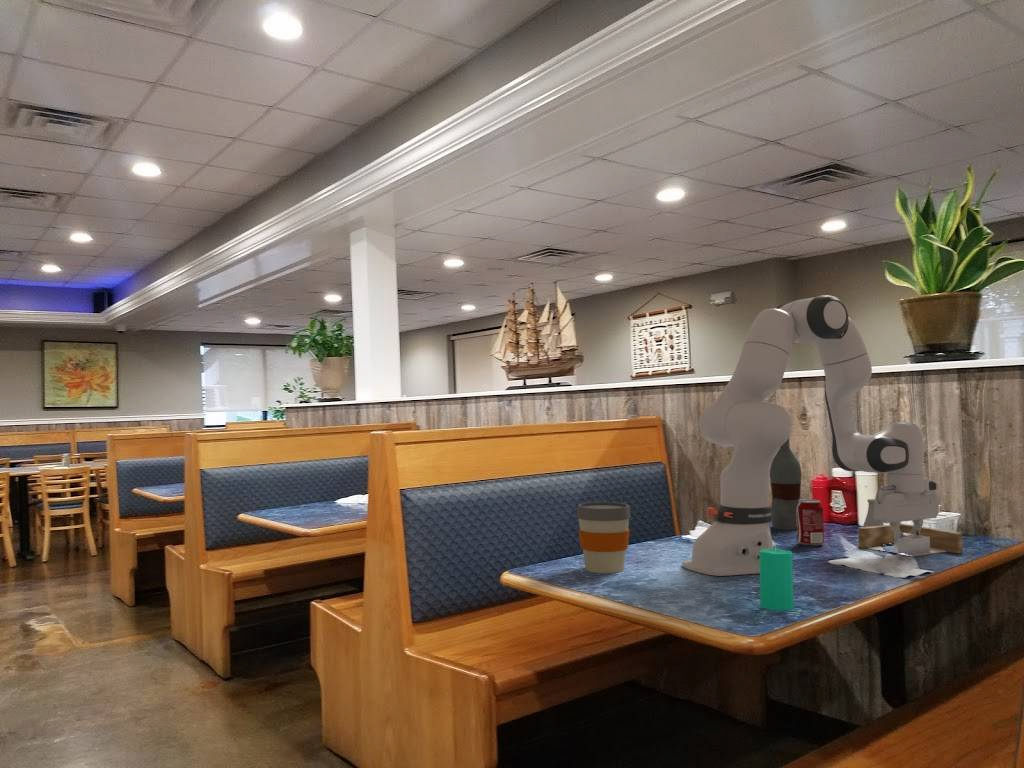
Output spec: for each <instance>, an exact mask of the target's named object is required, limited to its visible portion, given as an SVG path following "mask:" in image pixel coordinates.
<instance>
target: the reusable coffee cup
mask: <svg viewBox="0 0 1024 768" xmlns="http://www.w3.org/2000/svg"><path fill="white" fill-rule="evenodd" d="M576 518H577V519H578V524H579V527H578V536H579V545H580V549H582V554H583V560H584V569H585V571H586V572H587V571H588V573H589V572H590V573H593V574H594V573H595V574H596V573H597V574H616V573H621V572H622V571H624V567H625V560H626V559H625V558H626V550H627V549H628V547H629V539H630V538H629V537H630V529H629V521H630V518H631V512H630V505H629V504H627V503H625V502H624V503H623V502H616V501H613V502H611V501H592V502H584V503H579V504H577V512H576Z"/></svg>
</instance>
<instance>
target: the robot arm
mask: <svg viewBox="0 0 1024 768" xmlns="http://www.w3.org/2000/svg"><path fill="white" fill-rule="evenodd" d="M810 343H813V344H815V346H816V348H817V350H818V353H819V358H820V361H821V364H822V368H823V372H824V376H825V385H824V399H825V404H826V410H827V415H828V419H829V425H830V429H831V435H832V448H831V450H832V458H833V460H834V462H835V463H836V465H837V466H838V467H839V468H840V469H842V470H843V471H846V472H863V473H864V472H865V473H877V474H884V473H885V474H886V478H885V479H886V485H882V486H880V487H879V488H878V489H877V491H876V492H875V493H876V494H875V498H874V499H875V502H874V519H875V520H876V522H881V523H884V524H889V525H890V527H891V529H892V530H893V534H894V538H895V539H897V538H900V537H903V532H901V530H900V528H899V526H901V524H902V522H909V521H910V522H911V521H912V523H913V524H912V525H913V528H912V530H910V533H911V534H915V535H920V530H921V528H922V527H923V525H924V520H930V519H936V518H938V515H939V512H940V510H939V509H940V503H939V502H940V501H939V493H938V492H937V491H938V490H939V483H938V482H937V481H935V480H932V479H929V478H928V477H925V473H926V472H925V469H924V464H923V463H924V458H925V447H924V446H925V445H924V437H923V433H922V430H921V427H920V426H918V425H917V424H914V423H911V422H907V421H905V422H904V421H889V422H888V423H887V426H885V427H884V428H883V429H881V430H880V431H877V432H875V433H873V434H862V433H860V432H859V430H858V429H857V425H856V421H855V415H854V411H853V406H852V400H853V397H854V396H855V394H856V393H857V392H860V390H862V389H863V388H864V387H865V386H866V385H867V384H868V383H869V382H870V379H871V377H872V375H873V370H872V363H871V359H870V355H869V352H868V350H867V347H866V344H865V342H864V339H863V337H862V335H861V333H860V331H859V329H858V327H857V325H856V323H855V321H854V320H853V319H852V318H850V317H849V313H848V309H847V308H846V306H845V304H844V303H843V302H842V300H841V299H839V298H838V297H837V296H833V295H818V296H815V297H810V298H809V297H808V298H801V299H797V300H793V301H790V302H788V303H786V304H785V303H783V304H780V305H779V306H777V307H776V308H767V309H763V310H761V311H760V312H759V313H758V314H757V316H756V317H755V319H754V321H753V322H752V325H751V326H750V329H749V331H748V332H747V336H746V338H745V341H744V344H743V347H742V349H741V352H740V355H739V359H738V361H737V364H736V367H735V370H734V372H733V374H732V376H731V378H730V379H729V381H728V382H727V384H726V385H725V387H724V389H723V390H722V391H721V393H720V394H719V396H717V398H715V400H714V401H713V402H711V404H709V405H708V406H706V407H705V408H703V410H702V411H701V412H700V414H699V419H698V429H699V432H700V435H701V436H702V437H703V439H705V441H708V442H709V443H712V444H714V445H718V446H721V447H730V448H731V447H732V448H733V447H734V450H733V454H732V458H731V460H730V462H729V464H728V465H726V466H725V467H724V468H723V469H722V471H721V472H720V475H719V477H720V481H719V483H720V504H719V506H718V508H715V507H711V506H709V507H708V508H707V509H706V515H708V516H709V517H715V518H714V522H713V523H711V525H709V527H708V528H706V530H704V532H702V533H701V534H700V535H698V537H697V538H696V539H695V540H694V542H693V544H692V545H693V546H692V552H691V559H687V560H683V561H682V564H681V565H682V567H683V568H685V569H687V570H689V571H692V572H695V573H700V574H704V575H708V576H719V577H722V576H724V577H725V576H739V575H750V574H751V575H752V574H753V575H755V574H760V567H759V551H760V550H762V549H770V548H774V545H773V539H772V532H771V505H770V500H769V499H770V468H771V464H772V461H773V459H774V457H775V455H776V454H777V452H778V451H779V449H780V447H781V446H782V445H783V444H784V443H785V442H786V441H787V440H788V438H789V439H790V436H791V433H792V428H793V427H792V426H793V425H792V423H793V422H792V419H791V416H790V413H789V412H788V411H787V410H786V409H785V408H784V407H782V406H781V405H779V404H778V405H777V404H774V403H771V402H766V401H765V400H766V399H767V398H768V397H769V396H771V394H773V393H775V392H776V391H777V390H778V389H779V388H780V386H781V384H782V381H783V379H784V374H785V372H786V368H787V366H788V362H789V359H790V356H791V353H792V352H791V351H792V347H793V345H794V344H810Z"/></svg>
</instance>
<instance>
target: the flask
mask: <svg viewBox="0 0 1024 768" xmlns="http://www.w3.org/2000/svg"><path fill="white" fill-rule="evenodd" d="M867 502H868V504H867V505H868V508H867V514H866V515H865V520H864V523H863V525H862V527H872V526H881V525H885V523H881V522H876V520H875V519H874V502H875V498H874V499H872V498H869V499H867Z"/></svg>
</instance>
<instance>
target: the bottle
mask: <svg viewBox="0 0 1024 768" xmlns="http://www.w3.org/2000/svg"><path fill="white" fill-rule="evenodd" d="M790 447H791V446H790V437H789V438H788V440H787V441H786V442H785V443H784V444H783V445H782V446H781V447H780V448H779V449H778V450H777V452H776V454H775V456H774V459H773V461H772V464H771V468H770V473H769V481H770V488H771V505H770V507H771V521H770V523H771V525H772V527H773V529H776V530H781V531H782V530H784V531H797V530H796V529H797V516H796V506H797V505H798V503H799V500H801V485H802V468H801V465H800V461H799V459H798V458H797V457H796V455H795V454H794V452H793V451H792V449H791V448H790Z"/></svg>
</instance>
